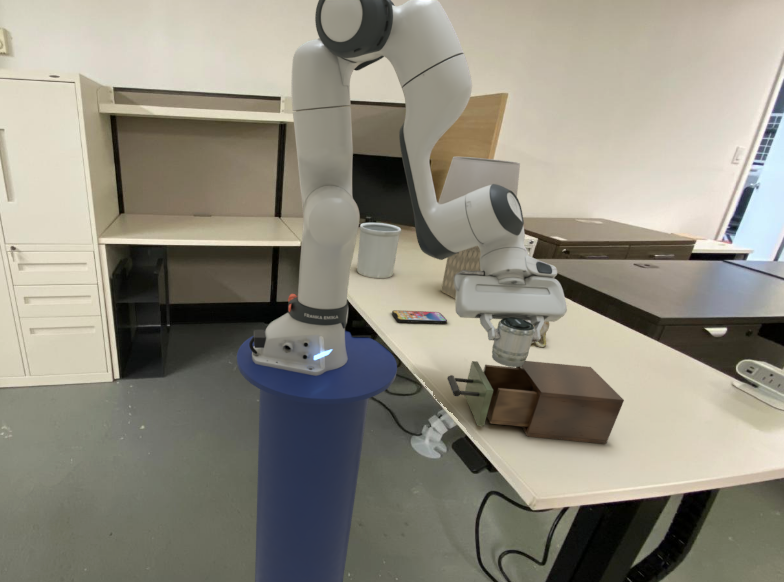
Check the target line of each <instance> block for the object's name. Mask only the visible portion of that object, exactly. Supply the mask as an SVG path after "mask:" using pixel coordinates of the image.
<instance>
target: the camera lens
mask: <svg viewBox="0 0 784 582" xmlns="http://www.w3.org/2000/svg"><path fill="white" fill-rule="evenodd" d="M496 329H499V331H500V332H499V334H500V338H499V339H498V340H493V344H492V348H491V349H492V351H491V354H492V355H491V358H492V360H493V361H494V362H496V363H497V364H499V365H501V366H504V367H515V368H516V367H519V366H522V365H523V364H524V361H527V359H528V356H529V352H530V349H531V345H532V343H531V342H532V339H533V335H534V332H535V328H534V326H533V325H532V324H531V323H529V322H528V321H526V320H523V319H521V318H515V317H510V318H504V319H499V321H498V322H497V328H496Z"/></svg>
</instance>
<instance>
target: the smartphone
mask: <svg viewBox="0 0 784 582" xmlns="http://www.w3.org/2000/svg"><path fill="white" fill-rule="evenodd" d="M391 315H392V316H393V317H394V319H395V321H396V322H398V323H413V324H414V323H415V324H439V325H440V324H442V325H443V324H447V323H448V319H447V318H446V317H445V316H444V315H443V314H442V313H441V312H439V311H423V310H397V309H396V310H395V309H394V310H392V312H391Z"/></svg>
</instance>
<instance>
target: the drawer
mask: <svg viewBox="0 0 784 582" xmlns="http://www.w3.org/2000/svg"><path fill="white" fill-rule="evenodd" d="M446 379H447V382H448V385H449V387H450V390H451V392H452V395H453V396H454V397H455V398H456V397H460V396H464V397H465V400H466V402H467V404H468V407H469V409H470V411H471V413H472V416H473V418H474V422H475V423H476V425H477V426H479V427H484V426H485V424H486V419H488V421H489V424H495V425H505V426H514V427H521V426H523V427H528V425H529V421H530V418H531V415H532V412H533V409H534V406H535V403H536V400H537V396H538V392H537V391H536V389H535V388H534V387H533V385H532V384H531V382H530V381H529V379H528V378H527V377H526V375H525V374H524V372H523V371H522V370H521V368H516V367H510V366H505V365H494V364H485V365H484V367H483V369H482V367H481V364H480V363H479V361H475V360H471V363H470V367H469V371H468V375H467V378H463V377H462V378H461V377H455V375H452V374H449V375H448V376H447V377H446ZM458 383H464V384H465V383H466V385H465V388H464V390H460V387H459V385H458Z"/></svg>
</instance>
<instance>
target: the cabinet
mask: <svg viewBox="0 0 784 582" xmlns="http://www.w3.org/2000/svg"><path fill="white" fill-rule="evenodd" d="M515 368H521V370H522V371H523V372H524V374H525V375H526V377H527V378H528V379H529V381H530V382H531V384H532V385H533V387H534V388H535V389H536V391H537V392H538V396H537V400H536V403H535V406H534V409H533V412H532V415H531V418H530V421H529V425H528V427H523V426H520V427H521V428H522V430H523V432H524V433H525V436H526V437H530V438H539V439H540V438H541V439H552V440H561V441H573V442H582V443H591V444H603V445H606V444H607V442H608V441H609V438H610V436H611V433H612V431H613V428H614V426H615V424H616V422H617V419H618V416H619V414H620V411H621V409H622V406H623V404H624V402H625V400H624V398H623V397H622V396H621V395H620V394H619V393H618V392H617V391H616V390H615V389H614V388H612V386H611V385H610V384H609V383H608V382H606V380H604V378H602V376H600V374H598V372H597V371H596V370H594V368H593V367H592V366H584V365H576V364H575V365H573V364H566V363H565V364H564V363H554V362H544V361H543V362H542V361H534V360H533V361H532V360H526V361H524V364H523V365H522V366H519V367H515Z"/></svg>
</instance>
